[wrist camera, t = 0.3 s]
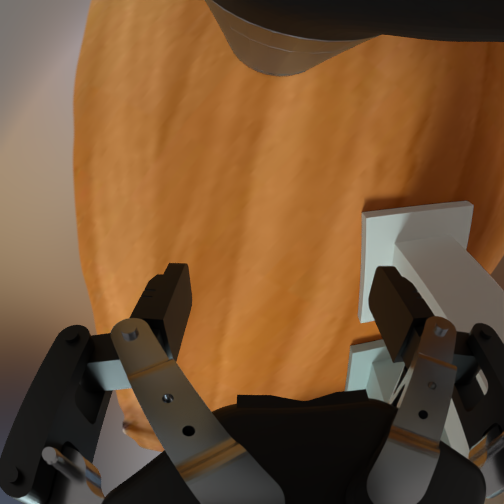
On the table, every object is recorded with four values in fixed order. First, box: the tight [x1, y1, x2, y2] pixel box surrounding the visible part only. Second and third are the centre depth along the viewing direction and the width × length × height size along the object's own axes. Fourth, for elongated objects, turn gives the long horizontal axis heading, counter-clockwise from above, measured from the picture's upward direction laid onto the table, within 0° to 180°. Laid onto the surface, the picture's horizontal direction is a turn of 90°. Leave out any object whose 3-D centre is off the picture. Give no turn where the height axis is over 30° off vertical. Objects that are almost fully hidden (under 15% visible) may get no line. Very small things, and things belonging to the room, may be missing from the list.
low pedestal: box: [345, 339, 451, 447], centre depth 30 cm, size 15×15×28 cm
